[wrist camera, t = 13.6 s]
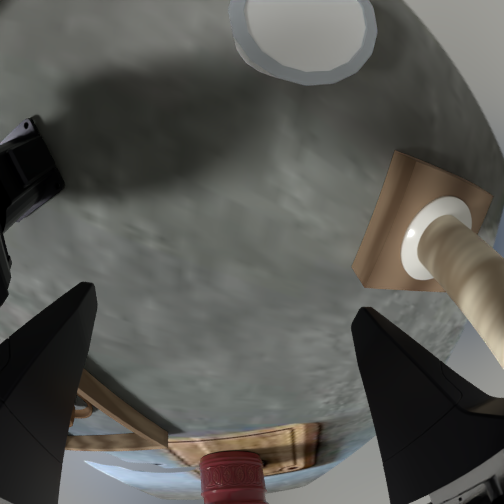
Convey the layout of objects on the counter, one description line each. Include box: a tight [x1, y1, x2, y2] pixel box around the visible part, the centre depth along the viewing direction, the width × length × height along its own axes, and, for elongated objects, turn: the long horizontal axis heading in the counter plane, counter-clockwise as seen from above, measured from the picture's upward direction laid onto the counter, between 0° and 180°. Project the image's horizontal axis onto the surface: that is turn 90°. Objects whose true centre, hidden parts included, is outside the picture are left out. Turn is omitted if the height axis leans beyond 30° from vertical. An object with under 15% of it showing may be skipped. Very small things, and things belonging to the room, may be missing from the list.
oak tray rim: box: [65, 368, 168, 451], centre depth 33 cm, size 26×26×3 cm
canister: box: [199, 451, 269, 504], centre depth 43 cm, size 13×13×18 cm
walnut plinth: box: [352, 150, 493, 292], centre depth 23 cm, size 11×11×3 cm
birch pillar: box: [417, 215, 504, 370], centre depth 16 cm, size 5×5×13 cm
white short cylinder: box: [228, 0, 378, 86], centre depth 12 cm, size 7×7×7 cm
